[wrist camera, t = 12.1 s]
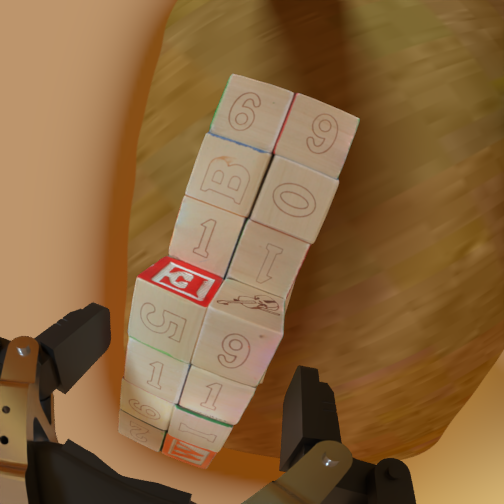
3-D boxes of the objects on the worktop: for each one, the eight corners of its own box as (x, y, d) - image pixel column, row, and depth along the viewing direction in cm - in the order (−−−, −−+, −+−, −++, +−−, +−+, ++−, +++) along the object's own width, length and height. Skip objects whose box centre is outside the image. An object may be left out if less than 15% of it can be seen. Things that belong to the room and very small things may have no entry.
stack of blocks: (254, 115, 19) (216, 39, 7) (331, 145, 19) (390, 100, 7) (175, 343, 25) (115, 434, 13) (235, 368, 25) (204, 473, 13)
